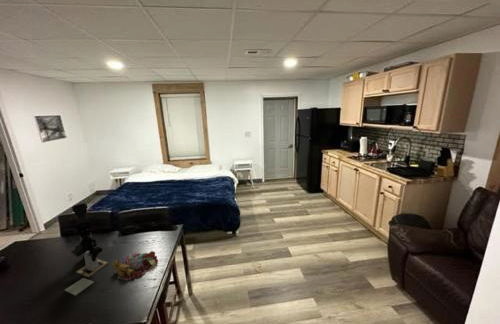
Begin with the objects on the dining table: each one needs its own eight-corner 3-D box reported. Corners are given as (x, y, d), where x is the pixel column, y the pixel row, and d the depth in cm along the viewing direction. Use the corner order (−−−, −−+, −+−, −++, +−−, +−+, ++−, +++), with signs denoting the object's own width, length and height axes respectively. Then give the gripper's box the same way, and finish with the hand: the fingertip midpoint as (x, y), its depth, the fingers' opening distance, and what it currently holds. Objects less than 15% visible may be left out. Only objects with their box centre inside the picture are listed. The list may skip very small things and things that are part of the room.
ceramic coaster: (64, 290, 120) (64, 289, 120) (83, 278, 130) (83, 277, 129) (75, 295, 117) (75, 294, 117) (93, 282, 126) (93, 281, 126)
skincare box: (86, 269, 137) (82, 253, 135) (93, 265, 141) (89, 249, 139) (92, 271, 135) (89, 255, 133) (99, 266, 139) (96, 251, 137)
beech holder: (76, 272, 135) (76, 271, 134) (97, 260, 146) (96, 258, 146) (88, 277, 130) (87, 275, 130) (108, 264, 142) (108, 262, 142)
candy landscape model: (130, 286, 123) (128, 272, 121) (106, 274, 133) (104, 262, 131) (163, 260, 145) (162, 248, 143) (141, 251, 155) (139, 240, 153)
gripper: (63, 243, 130) (68, 264, 133) (81, 249, 123) (86, 272, 126) (82, 234, 140) (87, 254, 143) (100, 239, 133) (105, 260, 136)
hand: (91, 260), depth 137 cm, fingers closed on skincare box, 6 cm apart
